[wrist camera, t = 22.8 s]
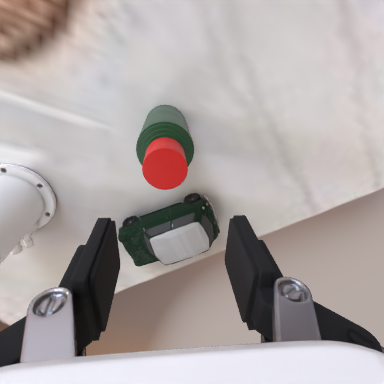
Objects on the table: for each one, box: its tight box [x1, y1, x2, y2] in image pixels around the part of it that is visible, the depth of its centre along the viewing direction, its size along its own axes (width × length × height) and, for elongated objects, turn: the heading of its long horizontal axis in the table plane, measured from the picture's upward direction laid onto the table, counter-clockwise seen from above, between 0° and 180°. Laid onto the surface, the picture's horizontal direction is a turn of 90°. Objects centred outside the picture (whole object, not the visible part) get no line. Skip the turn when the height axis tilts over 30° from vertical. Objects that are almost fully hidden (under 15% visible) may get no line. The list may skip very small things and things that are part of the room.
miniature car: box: [118, 193, 220, 266], centre depth 43 cm, size 9×18×8 cm, turn 110°
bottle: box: [136, 105, 194, 167], centre depth 31 cm, size 6×6×18 cm
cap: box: [142, 137, 188, 190], centre depth 24 cm, size 4×4×4 cm
